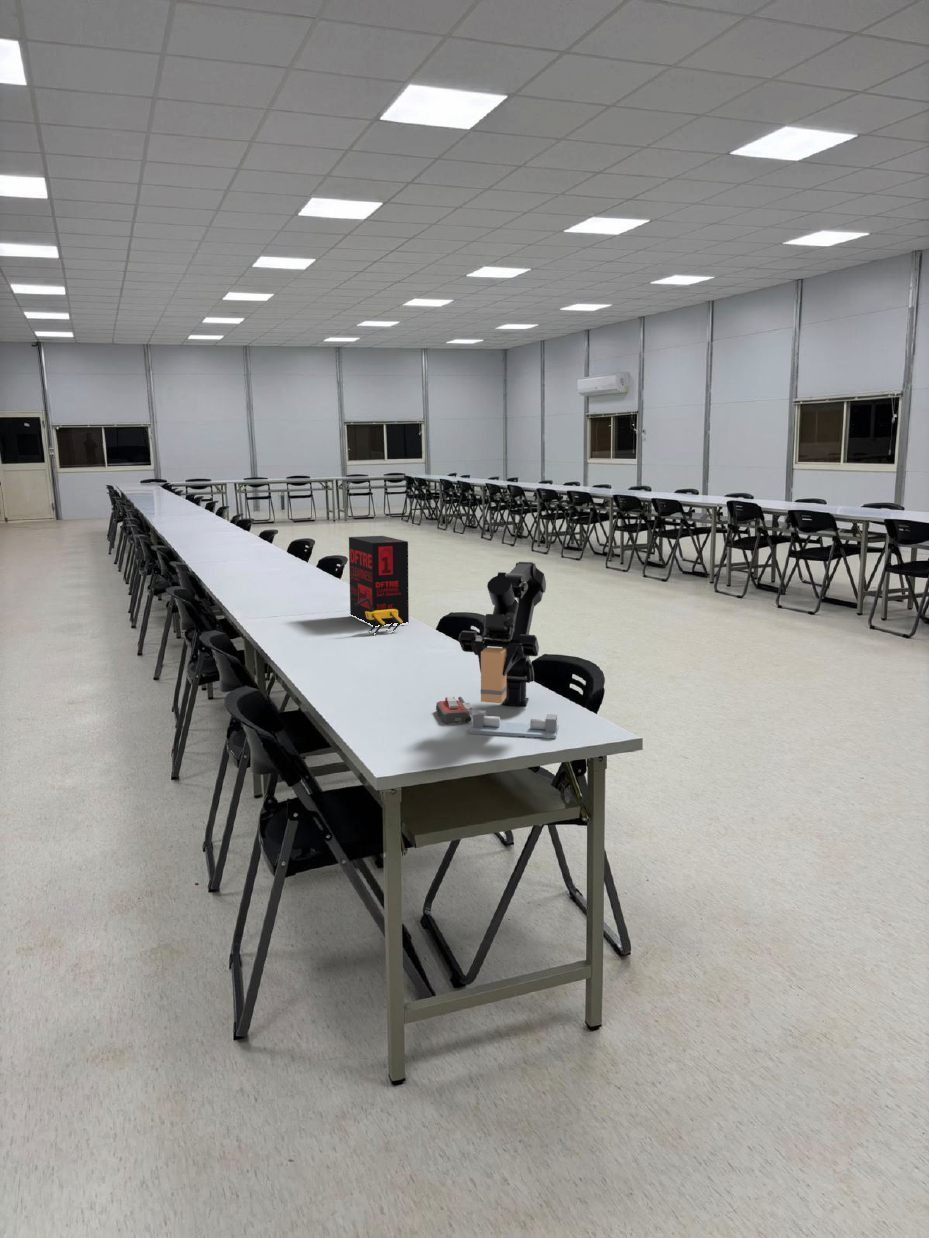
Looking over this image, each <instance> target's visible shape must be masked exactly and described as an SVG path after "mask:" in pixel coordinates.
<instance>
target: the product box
mask: <svg viewBox="0 0 929 1238" xmlns="http://www.w3.org/2000/svg"><path fill="white" fill-rule="evenodd" d="M348 560H349V561H348V563H349V564H348V566H349V568H348V569H349V571H348V572H349V614H351V615H353V616H356V617H357V618H359V619H362V620H364V621H365V622H367V623H370V624H371V625H373V626H374V625H375V624H376V622H375V621H374V620H373V619H372V620H369V619H367V618H366V614H365V612H366V611H369V609H370V607H369V605H368V602H367V601H366V602H364V603H362V604H360V605H359V606H358V605H357V606H355V605H354V604H355V603H358V602H360V601H362V600H364V599H366V598H369V600H370V602H371V605H372V607H373V608H374V611H376V610H387V609H396V610H398V617H399V618H400V619H401V620H402V621H403V623H406V622H408V623H409V621H410V620H409V619H410V618H409V617H410V615H409V613H410V612H409V601H410V600H409V541H407V540H403V539H399V538H398V539H397V538H395V537H389V536H386V535H368V536H366V535H365V536H364V535H363V536H349V537H348ZM381 620H382V621H384V623H385V625H386V624H391V623H393V621H394V620H393V619H392V618H382V619H381ZM395 623H399V622H398V621H397V622H395ZM378 625H381V624H380V623H379V624H377V625H376V626H378Z"/></svg>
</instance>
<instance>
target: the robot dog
mask: <svg viewBox="0 0 929 1238" xmlns="http://www.w3.org/2000/svg"><path fill="white" fill-rule="evenodd" d="M366 601H367V602H368V605H369V607H370V609H369V611H366V612H365V614H366V618H367V619H369V620H372V619H373V620H374V621H375V622H376V624H375V625H374V626H373V627H371V628H370V629H369V631H371V632H372V631H373V630H374V629H376V630H374V632H373V633H376V634H377V633H378V632H379V630H380V629H381V628H383V627H382V626H384V625H385V623H384V621H382V620H381V619H382V618H392V619H393V620H394V621H393V623H392V624H391V625H390V626H389V627H387V629H389V630H391V628H392V627H394V628H393V629H392V630H393V631H394V630H395V631H396V629H398V627H400V626H399V625H400V624H402V623H403V621H402V620H401V619H400V618H399V617H398V610H396V609H387V610H376V611H374V608H373V607H372V605H371V602H370V600H369V598H366V599H364V600H362V601H360V602H358V603H355V604H354V605H355V606H357V605H358V606H359V605H360V604H362V603H364V602H366ZM397 621H398V622H399V623H398V624H397V626H393V624H394V623H395V622H397ZM379 623H380V624H381V625H380V626H379V627H378V628H375V626H376V625H377V624H379ZM395 631H394V632H395Z"/></svg>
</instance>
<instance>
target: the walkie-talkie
mask: <svg viewBox="0 0 929 1238" xmlns="http://www.w3.org/2000/svg"><path fill="white" fill-rule="evenodd" d="M457 699H458V700H457ZM457 699H456V698H455V696H446V697H445V699H444V700H440V701H437V702H436V705H435V710H436V713H437V712H438V713H437V715H438V716H439V718H440V720H441V722H442V724H445V725H448V724H449V725H450V724H465V723H466V724H468V723H469V722H471V721H472V716H471V715H473V711H472V710H473V707H472V705H471V703H470V702H465V700H464V698H463V697H462V696H458V698H457Z"/></svg>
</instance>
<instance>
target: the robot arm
mask: <svg viewBox="0 0 929 1238" xmlns="http://www.w3.org/2000/svg"><path fill="white" fill-rule="evenodd" d="M486 587H487V590H488V593H489V598H490V601H491V604H492V606H493V610H492V611H493V612H492V613H486V614H485V617H484V626H483V628H485V635H487V637H484V636H483V635H478V632H477V631H474V630H462V631H461V632H460V633H459V634H458V635H459V636H458V639H457V640H458V642H459V645H460V647H461V650H462V651H463V652H465V653H473V654H474V655H475V656H477V658H478V664H479V671H480V673H481V652H482V651H483V650H484V649H485V648H486V647H491V648H507V657H506V661H505V664H504V668H503V676H505V675H506V674H507V676H506V685H507V689H506V698H505V700H504V701H503V702H502V703H501V705H502V706H503V705H504V706H515V707H516V706H517V707H527V704H528V702H529V700H530V698H529V697H527V684H530V683H531V682H534V681H535V672H534V665H533V664H532V661H531V659H530V657H538V656H539V651H540V650H539V649H540V646H539V640H538V638H537V636H536V635H535V634H530V631H531V625H532V621H533V615H534V610H535V607H536V606H537V605H539V603H541V602H542V599H543V595H544V593H546V591H547V581H546V577H545V574H544V572H543V571H541V570H540V569H538V568H537V566H536V563H534V562H533V561H518V562H516V563H515V566H514V567H513V569H511V571H509V572H503V571H501V572H499V571H498V573H497V575H495V576H493V577H492V578H491V579H489V581H488V582H487V585H486Z"/></svg>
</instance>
